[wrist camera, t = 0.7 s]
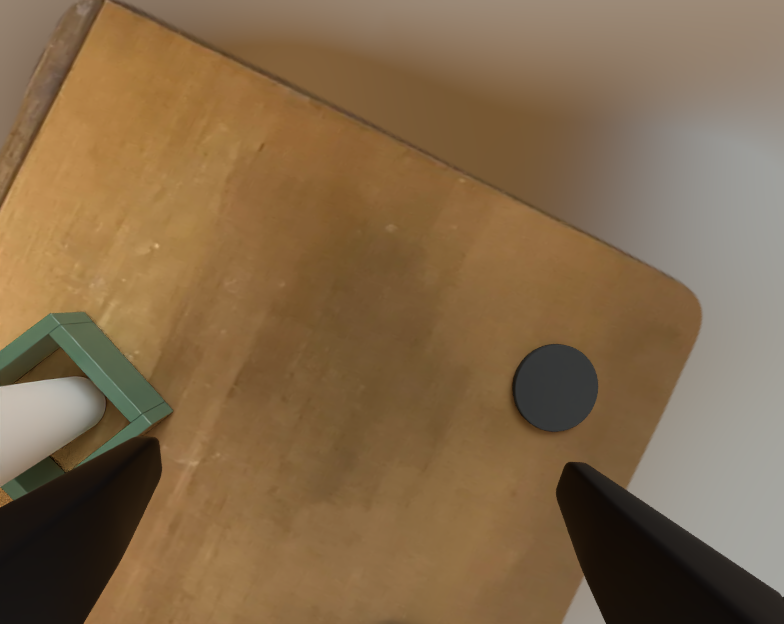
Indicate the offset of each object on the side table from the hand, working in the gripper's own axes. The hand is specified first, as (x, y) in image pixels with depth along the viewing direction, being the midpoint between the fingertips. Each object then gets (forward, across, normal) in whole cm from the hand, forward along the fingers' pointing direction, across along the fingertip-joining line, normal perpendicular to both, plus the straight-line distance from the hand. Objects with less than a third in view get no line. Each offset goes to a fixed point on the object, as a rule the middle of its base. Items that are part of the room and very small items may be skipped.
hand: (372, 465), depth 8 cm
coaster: (+15, -14, +6) cm, 21 cm away
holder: (+14, +17, +9) cm, 24 cm away
